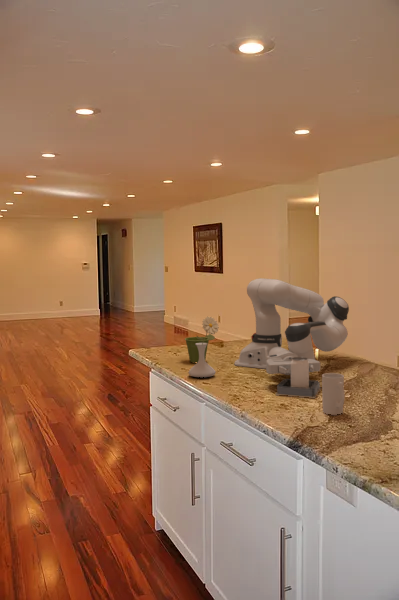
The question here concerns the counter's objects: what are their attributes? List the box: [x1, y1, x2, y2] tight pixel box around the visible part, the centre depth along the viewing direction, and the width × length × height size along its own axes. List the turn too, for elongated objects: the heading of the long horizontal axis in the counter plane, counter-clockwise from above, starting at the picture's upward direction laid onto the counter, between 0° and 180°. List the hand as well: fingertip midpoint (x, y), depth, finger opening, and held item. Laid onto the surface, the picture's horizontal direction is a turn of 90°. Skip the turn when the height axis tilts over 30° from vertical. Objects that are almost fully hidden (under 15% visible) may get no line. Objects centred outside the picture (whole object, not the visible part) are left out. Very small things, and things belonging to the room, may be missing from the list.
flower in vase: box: [188, 316, 219, 379], centre depth 225 cm, size 13×11×25 cm
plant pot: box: [184, 336, 210, 364], centre depth 254 cm, size 12×12×11 cm
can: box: [290, 357, 310, 388], centre depth 197 cm, size 6×6×12 cm
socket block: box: [275, 378, 322, 399], centre depth 198 cm, size 14×14×3 cm
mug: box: [321, 372, 345, 416], centre depth 171 cm, size 10×7×12 cm, turn 15°
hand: (299, 370), depth 197 cm, fingers open, 8 cm apart
